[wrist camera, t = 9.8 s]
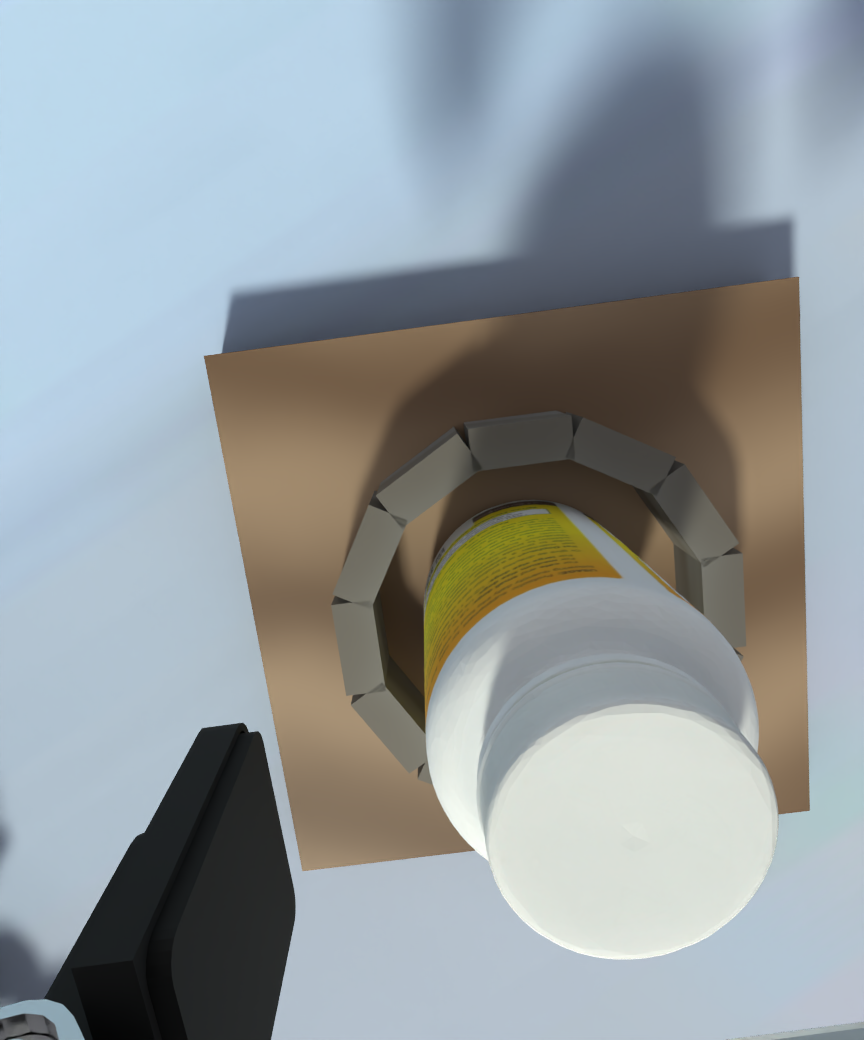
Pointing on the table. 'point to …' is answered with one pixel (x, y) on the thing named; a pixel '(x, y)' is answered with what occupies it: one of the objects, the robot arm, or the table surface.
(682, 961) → the table surface
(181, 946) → the robot arm
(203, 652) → the table surface
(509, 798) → the supplement bottle
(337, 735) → the collar plate
